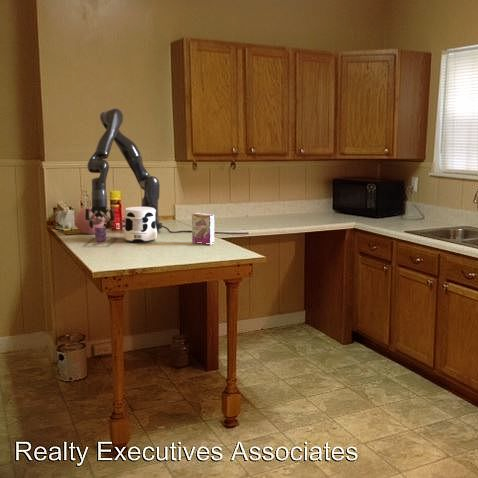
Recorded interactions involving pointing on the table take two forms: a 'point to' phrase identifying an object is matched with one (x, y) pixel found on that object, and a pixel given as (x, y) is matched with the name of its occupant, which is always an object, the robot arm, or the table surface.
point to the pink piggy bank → (87, 222)
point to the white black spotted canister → (140, 224)
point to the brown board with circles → (99, 242)
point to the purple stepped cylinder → (100, 234)
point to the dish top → (100, 228)
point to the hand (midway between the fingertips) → (100, 228)
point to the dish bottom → (100, 239)
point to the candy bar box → (202, 228)
